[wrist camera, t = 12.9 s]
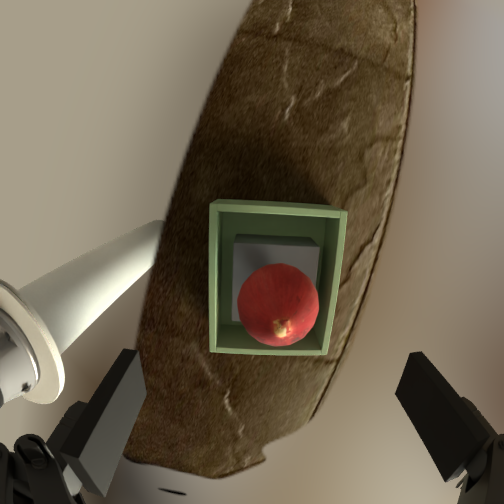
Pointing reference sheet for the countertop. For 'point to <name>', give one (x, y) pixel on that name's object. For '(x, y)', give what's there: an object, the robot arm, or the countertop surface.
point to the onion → (278, 304)
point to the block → (270, 258)
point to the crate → (282, 224)
